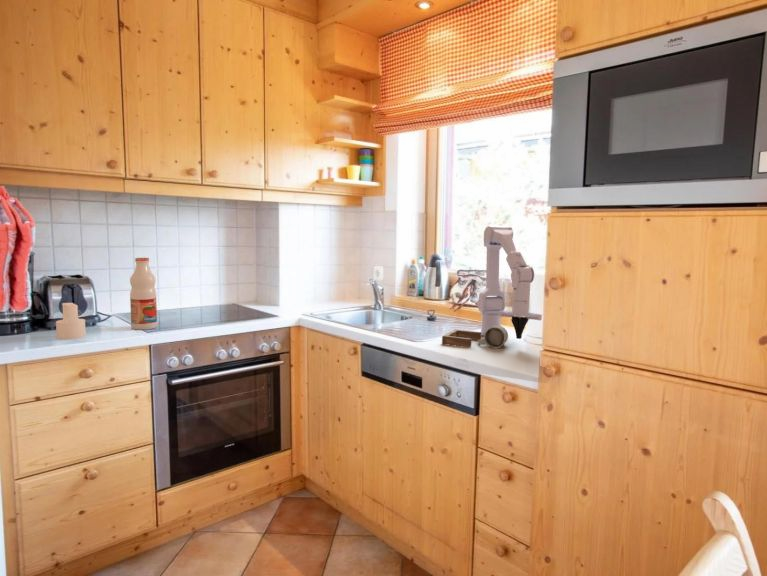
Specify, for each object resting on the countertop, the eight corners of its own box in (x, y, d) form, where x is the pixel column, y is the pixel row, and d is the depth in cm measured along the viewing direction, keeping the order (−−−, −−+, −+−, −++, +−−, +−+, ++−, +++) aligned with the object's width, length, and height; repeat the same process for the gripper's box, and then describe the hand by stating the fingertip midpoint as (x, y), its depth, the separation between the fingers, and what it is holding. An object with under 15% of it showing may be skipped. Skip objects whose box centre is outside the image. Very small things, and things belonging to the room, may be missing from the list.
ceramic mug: (508, 344, 187) (509, 324, 186) (504, 349, 179) (505, 328, 179) (480, 342, 191) (480, 322, 190) (475, 346, 184) (475, 325, 183)
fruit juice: (139, 325, 207) (137, 257, 204) (161, 326, 207) (159, 257, 204) (126, 329, 198) (123, 258, 195) (149, 330, 197) (147, 259, 194)
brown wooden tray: (454, 336, 199) (455, 329, 199) (480, 339, 194) (481, 332, 194) (442, 344, 186) (442, 336, 185) (469, 347, 181) (470, 339, 181)
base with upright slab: (88, 337, 183) (87, 304, 182) (59, 340, 177) (58, 307, 175) (82, 333, 189) (80, 301, 188) (54, 336, 183) (52, 303, 182)
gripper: (497, 300, 178) (496, 337, 180) (540, 303, 172) (537, 342, 174) (502, 297, 185) (500, 334, 186) (543, 301, 178) (541, 338, 180)
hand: (518, 338), depth 180 cm, fingers closed
